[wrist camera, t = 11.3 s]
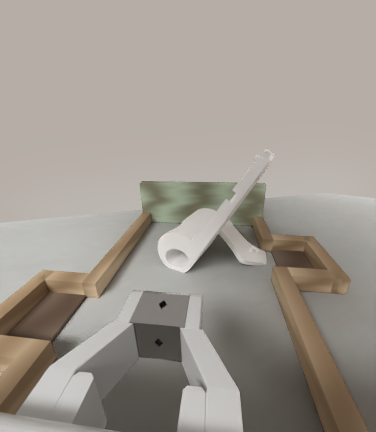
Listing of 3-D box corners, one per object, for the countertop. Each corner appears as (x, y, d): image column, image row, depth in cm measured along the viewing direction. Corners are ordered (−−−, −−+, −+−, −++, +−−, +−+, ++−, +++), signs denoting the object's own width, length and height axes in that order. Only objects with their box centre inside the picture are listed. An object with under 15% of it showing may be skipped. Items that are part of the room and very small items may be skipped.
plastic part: (192, 235, 28) (190, 144, 24) (269, 253, 24) (285, 145, 19) (158, 265, 22) (148, 151, 18) (254, 297, 18) (272, 154, 13)
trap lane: (-108, 424, 10) (-198, 341, 8) (118, 217, 34) (113, 180, 31) (545, 554, 7) (725, 476, 5) (291, 223, 30) (299, 183, 28)
